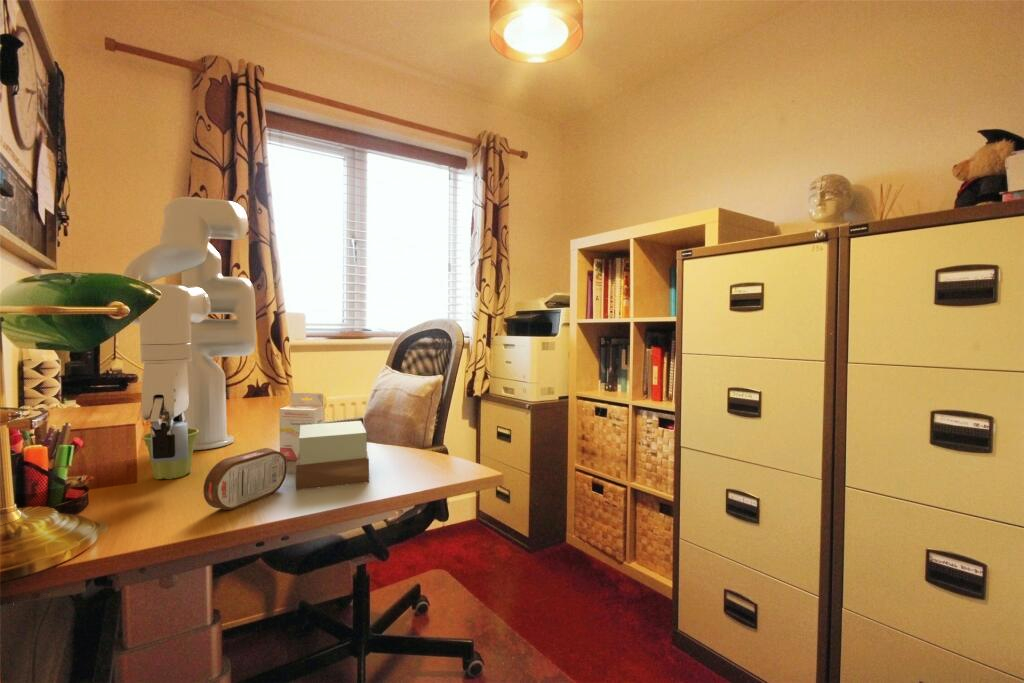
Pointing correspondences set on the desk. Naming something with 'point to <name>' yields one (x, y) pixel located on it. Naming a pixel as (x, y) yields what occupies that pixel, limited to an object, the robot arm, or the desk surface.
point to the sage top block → (332, 442)
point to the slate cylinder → (176, 442)
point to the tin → (245, 478)
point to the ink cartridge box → (298, 421)
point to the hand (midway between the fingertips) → (170, 451)
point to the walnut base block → (331, 473)
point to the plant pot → (173, 467)
